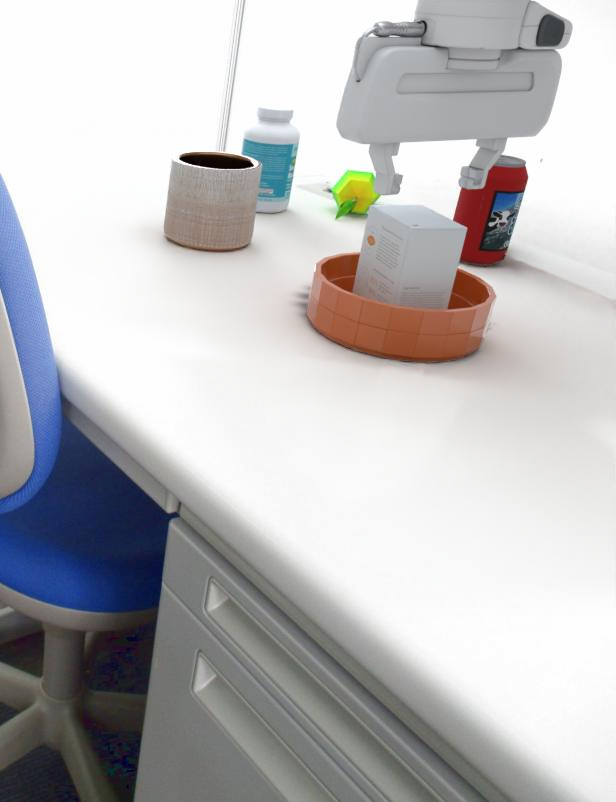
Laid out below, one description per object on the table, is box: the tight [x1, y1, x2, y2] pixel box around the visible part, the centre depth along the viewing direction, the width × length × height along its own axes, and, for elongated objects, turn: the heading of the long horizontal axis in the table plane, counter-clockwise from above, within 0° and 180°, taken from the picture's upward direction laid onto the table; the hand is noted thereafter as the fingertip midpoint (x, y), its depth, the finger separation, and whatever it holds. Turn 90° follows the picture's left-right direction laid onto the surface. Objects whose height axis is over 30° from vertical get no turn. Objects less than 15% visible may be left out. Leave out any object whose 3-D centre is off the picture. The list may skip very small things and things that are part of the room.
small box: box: [352, 204, 467, 310], centre depth 81 cm, size 8×6×10 cm
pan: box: [306, 251, 497, 363], centre depth 83 cm, size 16×16×5 cm
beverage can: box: [452, 154, 529, 267], centre depth 103 cm, size 7×7×12 cm
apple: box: [330, 169, 382, 221], centre depth 120 cm, size 7×6×9 cm
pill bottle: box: [240, 104, 301, 214], centre depth 119 cm, size 8×7×14 cm
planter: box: [163, 150, 262, 252], centre depth 105 cm, size 11×11×10 cm
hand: (428, 190), depth 78 cm, fingers open, 8 cm apart
